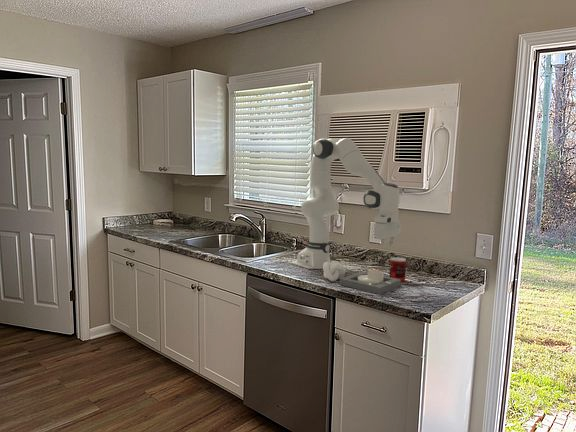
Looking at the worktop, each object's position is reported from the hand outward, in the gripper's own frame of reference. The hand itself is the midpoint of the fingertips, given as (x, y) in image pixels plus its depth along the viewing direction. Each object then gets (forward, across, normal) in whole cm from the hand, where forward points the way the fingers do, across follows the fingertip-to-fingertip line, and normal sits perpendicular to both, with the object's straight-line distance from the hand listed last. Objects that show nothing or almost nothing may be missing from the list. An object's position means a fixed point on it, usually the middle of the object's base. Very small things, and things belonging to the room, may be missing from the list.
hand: (387, 246), depth 215 cm
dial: (+18, +6, -5) cm, 19 cm away
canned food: (+20, -12, 0) cm, 23 cm away
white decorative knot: (+20, +11, -24) cm, 33 cm away
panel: (+19, +6, -5) cm, 21 cm away
